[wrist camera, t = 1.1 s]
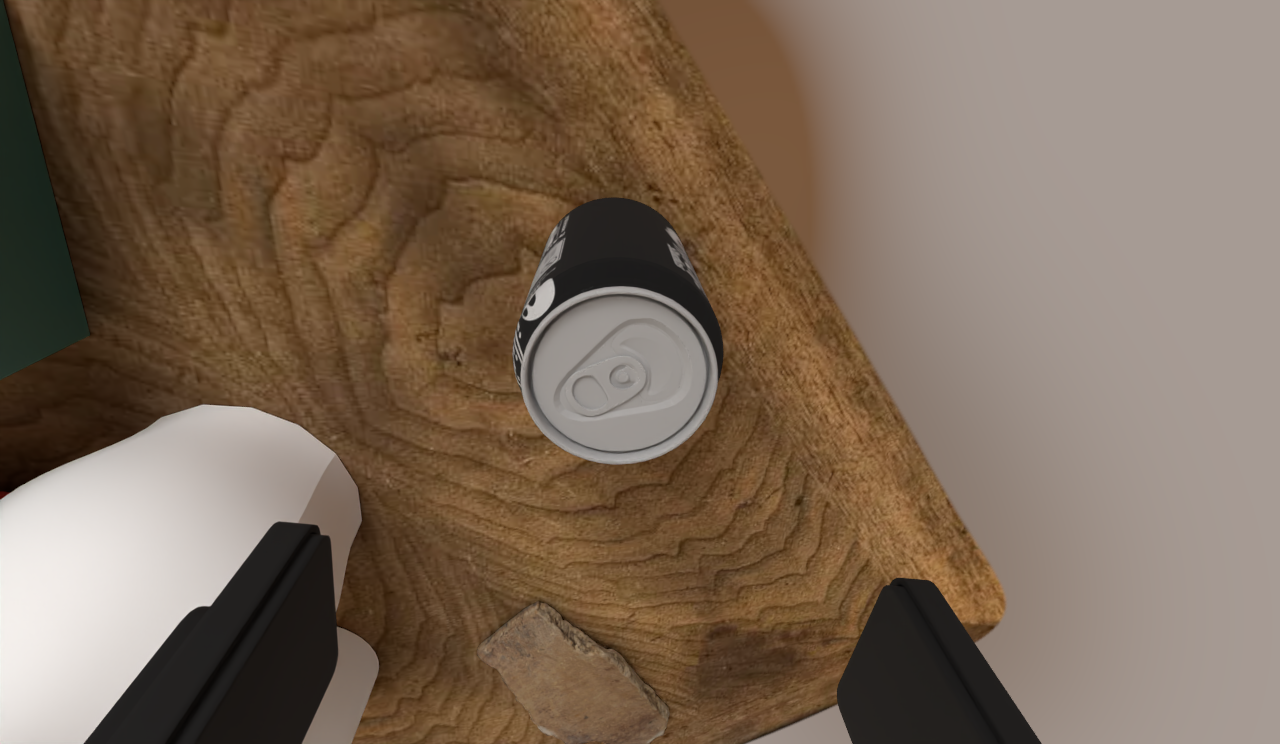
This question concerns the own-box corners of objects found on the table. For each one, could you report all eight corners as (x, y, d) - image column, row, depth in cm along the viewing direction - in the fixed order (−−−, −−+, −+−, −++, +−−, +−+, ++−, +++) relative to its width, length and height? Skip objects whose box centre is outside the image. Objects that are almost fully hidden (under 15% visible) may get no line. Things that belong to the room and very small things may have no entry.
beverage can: (705, 293, 29) (766, 422, 18) (587, 352, 30) (577, 506, 19) (645, 167, 26) (673, 229, 15) (516, 236, 27) (458, 341, 16)
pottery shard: (696, 677, 43) (537, 591, 37) (703, 712, 41) (535, 628, 34) (617, 731, 45) (454, 659, 39) (619, 767, 43) (447, 698, 37)
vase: (253, 336, 28) (-345, 773, 11) (434, 534, 34) (248, 1030, 16) (41, 459, 31) (-744, 987, 13) (245, 624, 37) (-99, 1144, 19)
